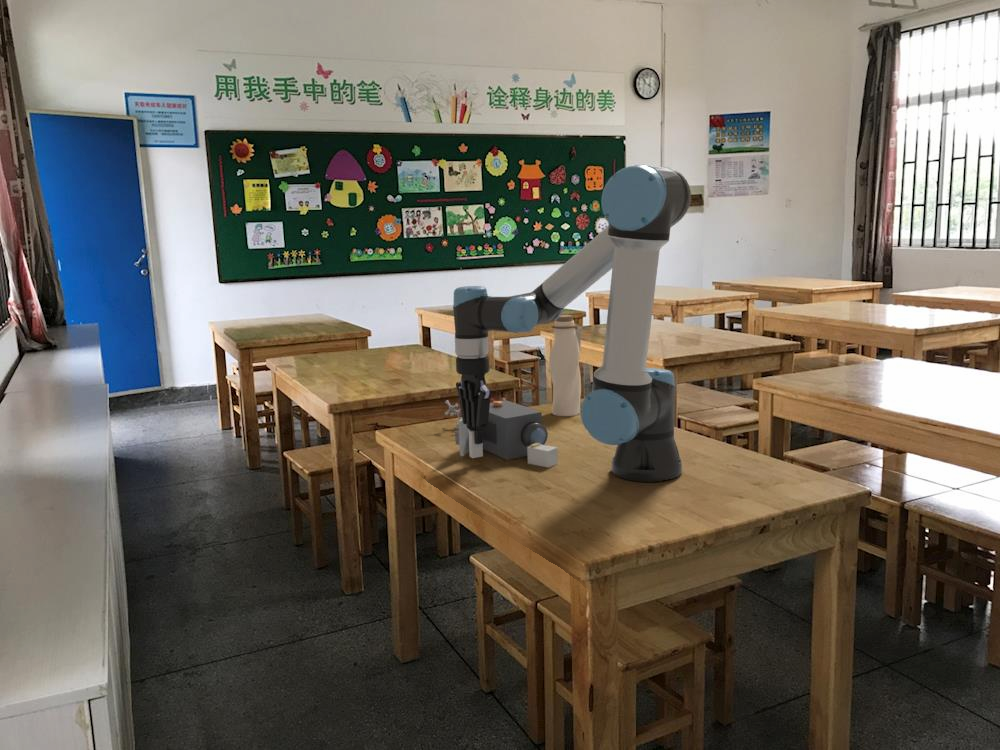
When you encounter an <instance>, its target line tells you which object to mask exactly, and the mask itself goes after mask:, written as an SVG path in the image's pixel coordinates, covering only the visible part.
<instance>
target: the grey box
mask: <svg viewBox="0 0 1000 750" xmlns="http://www.w3.org/2000/svg"><path fill="white" fill-rule="evenodd" d="M542 421H543V417H542V411H539V410H536V409H534V408H530V407H528V406H526V405H522V404H519V403H516V402H513V401H509V400H507V399H506V400H505V401H502V400H494V402H493V403H490V408H489V419H488V427H487V428H485V429H483V430H482V441H483V442H482V443H483V451H487V452H489V453H490V454H492V455H495V456H498V457H500V458H502V459H504V460H507V461H509V460H512V459H518V458H522V457H528V454H527V447H529V446H530V445H532V444H534V443H541V445H546V443H547V441H548V438H549V437H548V436H549V435H548V430H547V429H548V428H546V426H545V425H543V422H542Z"/></svg>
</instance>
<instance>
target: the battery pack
mask: <svg viewBox="0 0 1000 750" xmlns="http://www.w3.org/2000/svg"><path fill="white" fill-rule="evenodd" d="M558 450H559V449H558V447H556V446H552V445H546V444H544V445H541V443H534V444H532V445H530V446H529V447H527V454H528V456H527V464H528V465H529V464H530V465H533V466H540V467H544V468H552V467H554V466H556V465H558V464H559V457H558V455H559V454H558V452H559V451H558Z"/></svg>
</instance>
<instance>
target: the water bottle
mask: <svg viewBox="0 0 1000 750" xmlns="http://www.w3.org/2000/svg"><path fill="white" fill-rule="evenodd" d="M550 327H551V328H552V329H554V330H553V331H554V333H553V335H554V336H553V337H554V340H553V341H554V342H553V344H552V347H551V348H550V351H549V356H548V369H549V374H550V379H551V381H552V411H551V412H552V415H554V416H557V417H574V416H579V414H580V410H581V407H580V406H581V396H582V393H581V392H582V383H581V382H582V380H581V370H580V366H579V364H580V351H581V348H582V347H581V344H582V343H581V342H582V339H581V337H582V335H581V334H582V333H581V332H582V326H581V325H579V324H576V323H575V321H574V315H572V314H561V315H560V317H559V318H557V319H556V320H554V324H551V325H550Z"/></svg>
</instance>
